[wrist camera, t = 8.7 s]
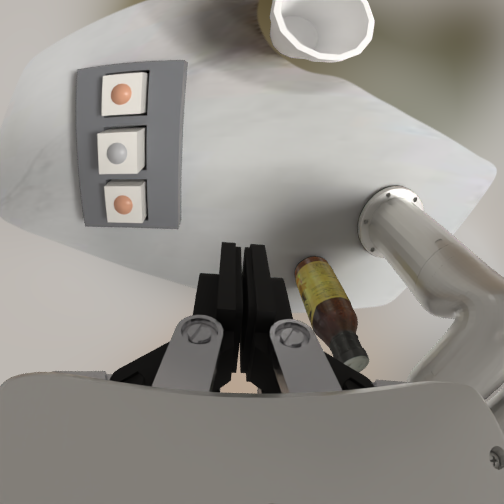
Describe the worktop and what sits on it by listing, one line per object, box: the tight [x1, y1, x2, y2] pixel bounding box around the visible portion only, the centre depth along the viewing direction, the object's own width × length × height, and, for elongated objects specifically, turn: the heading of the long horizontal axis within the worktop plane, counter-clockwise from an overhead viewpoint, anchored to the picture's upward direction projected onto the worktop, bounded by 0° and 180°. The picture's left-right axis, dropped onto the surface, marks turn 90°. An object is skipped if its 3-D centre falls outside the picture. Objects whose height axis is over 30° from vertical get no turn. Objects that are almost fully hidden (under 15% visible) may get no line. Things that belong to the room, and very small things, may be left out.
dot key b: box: [102, 72, 149, 116], centre depth 30 cm, size 5×5×4 cm
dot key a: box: [104, 179, 148, 223], centre depth 37 cm, size 5×5×4 cm
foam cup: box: [270, 0, 374, 62], centre depth 24 cm, size 10×9×13 cm
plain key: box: [97, 127, 146, 174], centre depth 32 cm, size 5×5×4 cm
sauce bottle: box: [295, 256, 369, 372], centre depth 40 cm, size 6×6×20 cm
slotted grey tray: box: [76, 60, 188, 229], centre depth 34 cm, size 14×22×3 cm, turn 174°
